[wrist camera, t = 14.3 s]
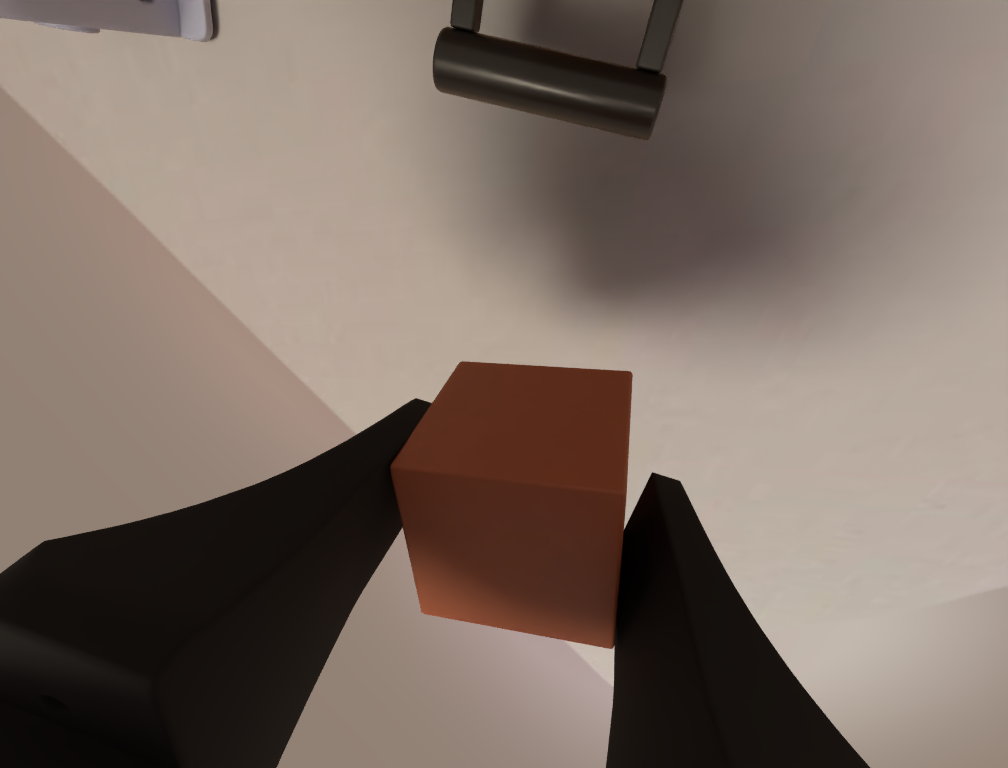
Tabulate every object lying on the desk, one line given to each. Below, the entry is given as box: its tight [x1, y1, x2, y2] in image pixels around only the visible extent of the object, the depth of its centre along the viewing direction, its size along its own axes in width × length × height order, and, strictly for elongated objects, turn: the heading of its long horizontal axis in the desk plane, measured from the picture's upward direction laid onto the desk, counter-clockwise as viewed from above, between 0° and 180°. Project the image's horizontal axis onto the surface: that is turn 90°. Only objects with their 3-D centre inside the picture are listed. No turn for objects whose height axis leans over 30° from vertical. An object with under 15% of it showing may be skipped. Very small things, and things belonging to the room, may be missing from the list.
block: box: [390, 361, 632, 649], centre depth 11 cm, size 4×4×4 cm
